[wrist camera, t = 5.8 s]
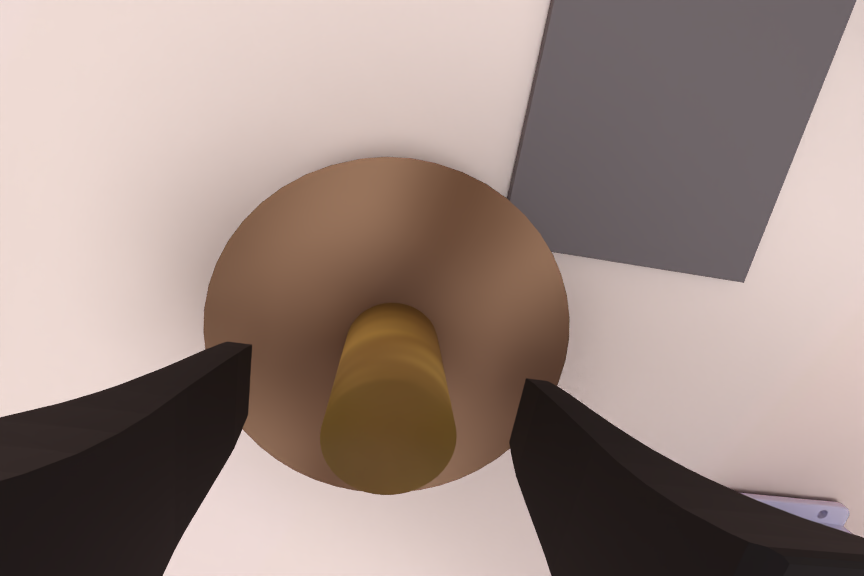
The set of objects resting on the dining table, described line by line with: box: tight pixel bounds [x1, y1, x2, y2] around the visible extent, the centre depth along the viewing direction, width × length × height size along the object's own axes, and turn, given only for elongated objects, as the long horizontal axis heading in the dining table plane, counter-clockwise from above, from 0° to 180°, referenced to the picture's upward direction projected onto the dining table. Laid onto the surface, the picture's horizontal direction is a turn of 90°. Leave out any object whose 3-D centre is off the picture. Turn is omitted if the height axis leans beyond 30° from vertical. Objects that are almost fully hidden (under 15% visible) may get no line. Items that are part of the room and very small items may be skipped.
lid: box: [204, 157, 569, 495], centre depth 11 cm, size 11×11×5 cm
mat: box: [507, 0, 856, 283], centre depth 15 cm, size 10×10×1 cm
